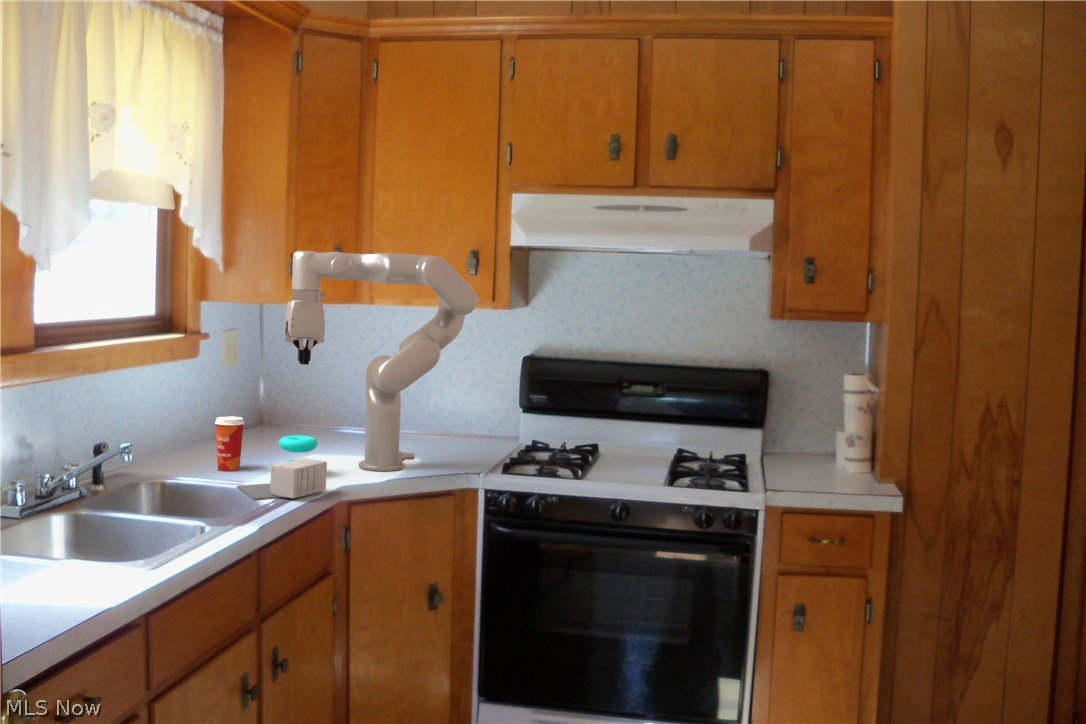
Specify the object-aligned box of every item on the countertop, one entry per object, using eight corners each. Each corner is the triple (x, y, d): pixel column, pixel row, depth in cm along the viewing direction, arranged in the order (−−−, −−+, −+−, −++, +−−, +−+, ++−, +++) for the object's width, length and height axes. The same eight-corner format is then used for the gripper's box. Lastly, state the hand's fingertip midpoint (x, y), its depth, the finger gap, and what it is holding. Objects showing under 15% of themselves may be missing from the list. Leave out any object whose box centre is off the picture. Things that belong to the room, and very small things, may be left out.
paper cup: (209, 468, 268) (210, 416, 267) (236, 465, 273) (237, 415, 272) (220, 473, 262) (221, 420, 261) (248, 470, 267) (249, 419, 266)
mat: (299, 482, 255) (299, 481, 255) (319, 494, 242) (319, 493, 242) (236, 487, 246) (236, 485, 246) (253, 500, 234) (254, 498, 234)
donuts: (310, 433, 271) (322, 439, 263) (309, 469, 272) (321, 476, 264) (274, 435, 266) (285, 441, 258) (273, 472, 267) (284, 479, 259)
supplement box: (302, 486, 249) (268, 494, 238) (304, 457, 249) (270, 464, 237) (326, 490, 246) (293, 499, 235) (328, 461, 246) (294, 468, 234)
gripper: (327, 297, 275) (325, 362, 277) (274, 295, 267) (272, 363, 269) (337, 298, 269) (335, 365, 270) (283, 296, 261) (281, 365, 262)
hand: (304, 364), depth 270 cm, fingers closed
